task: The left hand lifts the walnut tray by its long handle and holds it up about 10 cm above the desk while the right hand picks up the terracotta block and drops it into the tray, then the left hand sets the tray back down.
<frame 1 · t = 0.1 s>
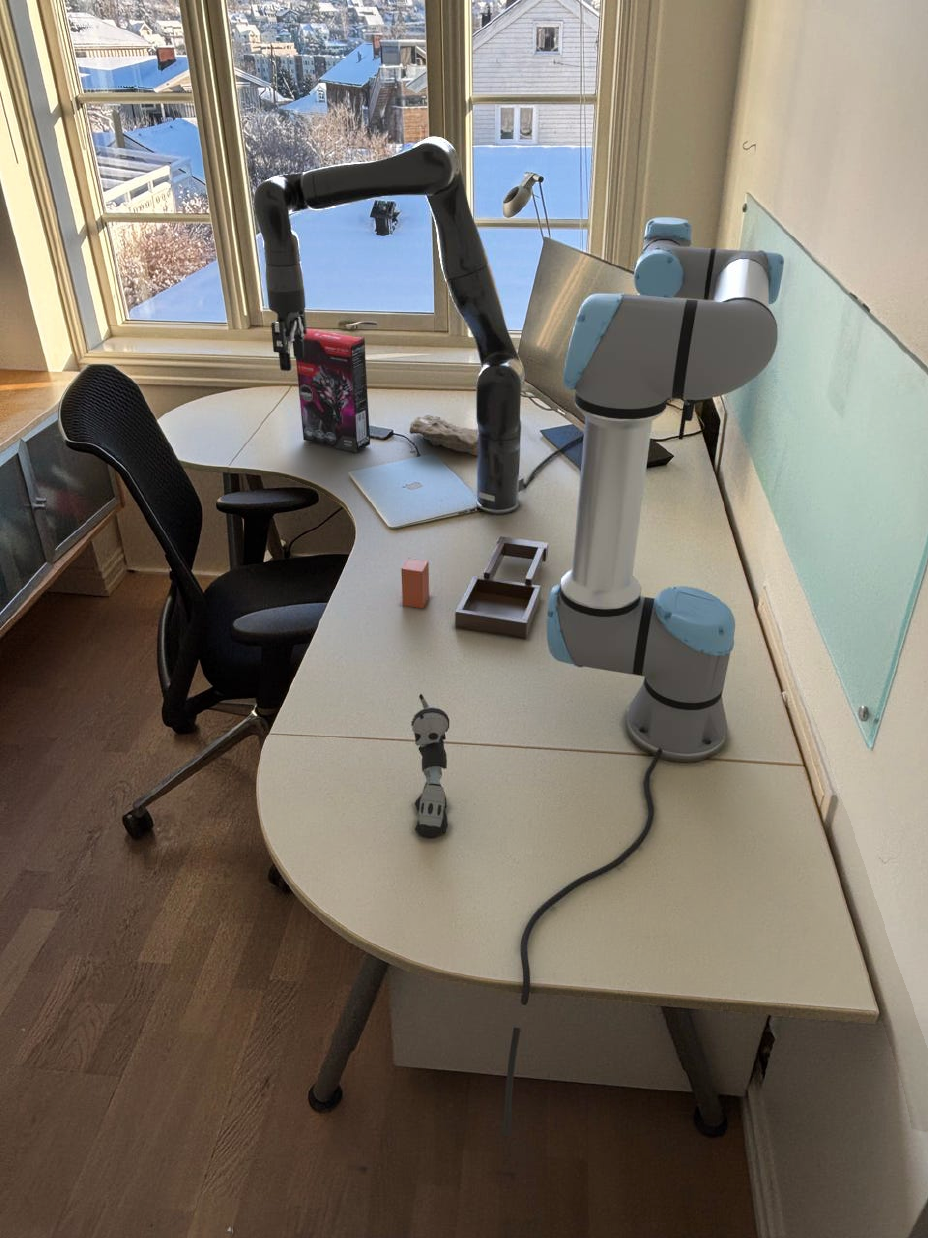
left hand: (292, 363, 197), 29 cm above the table, fingers open, 8 cm apart
right hand: (643, 432, 170), 28 cm above the table, fingers open, 13 cm apart
terracotta block: (415, 601, 173), on the table
stone: (446, 445, 234), on the table
walnut tray: (498, 614, 170), on the table
robot: (431, 817, 128), on the table
graphics card box: (336, 443, 234), on the table
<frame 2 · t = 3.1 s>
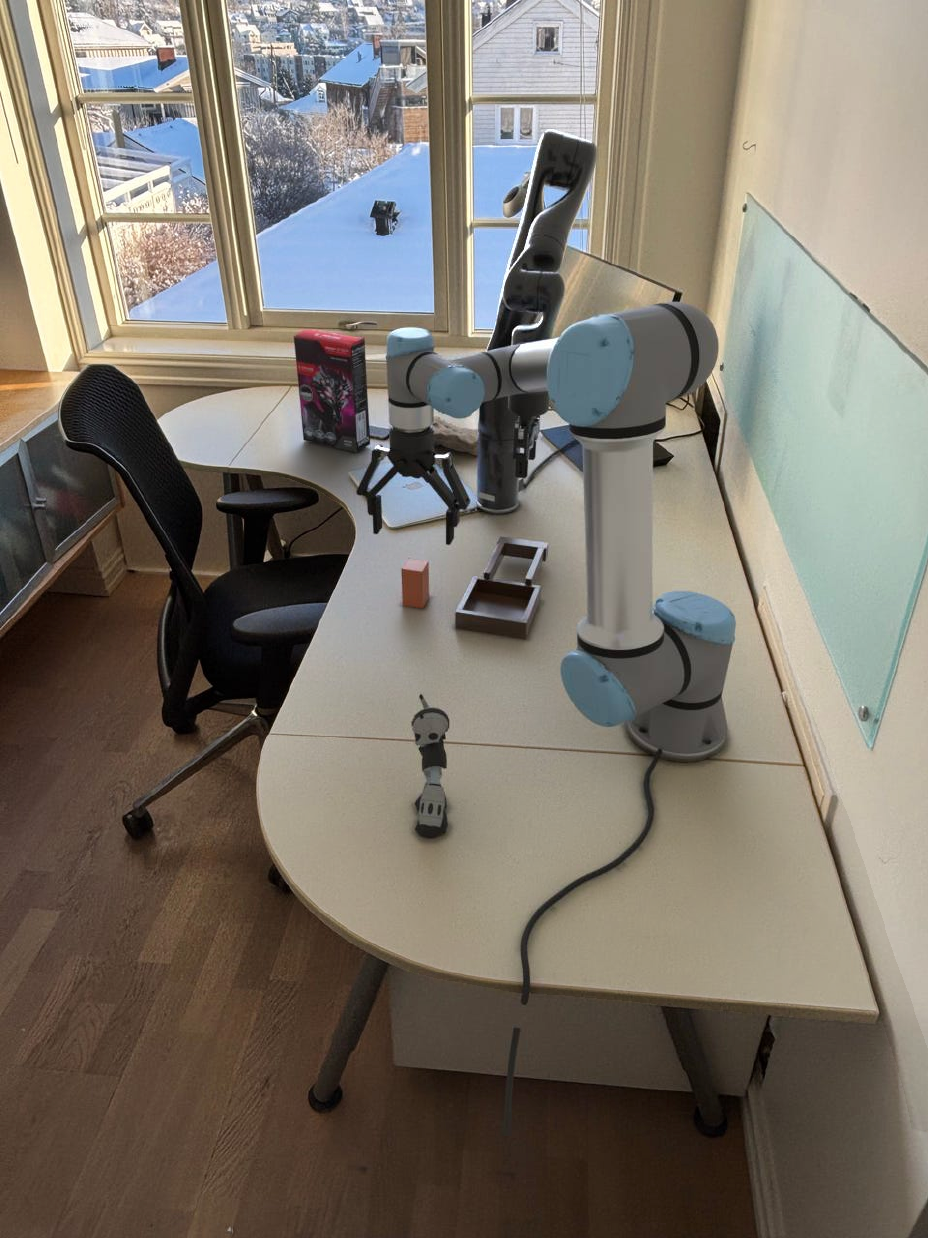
left hand: (525, 467, 175), 20 cm above the table, fingers open, 8 cm apart
right hand: (413, 536, 166), 14 cm above the table, fingers open, 13 cm apart
nothing on the table moved.
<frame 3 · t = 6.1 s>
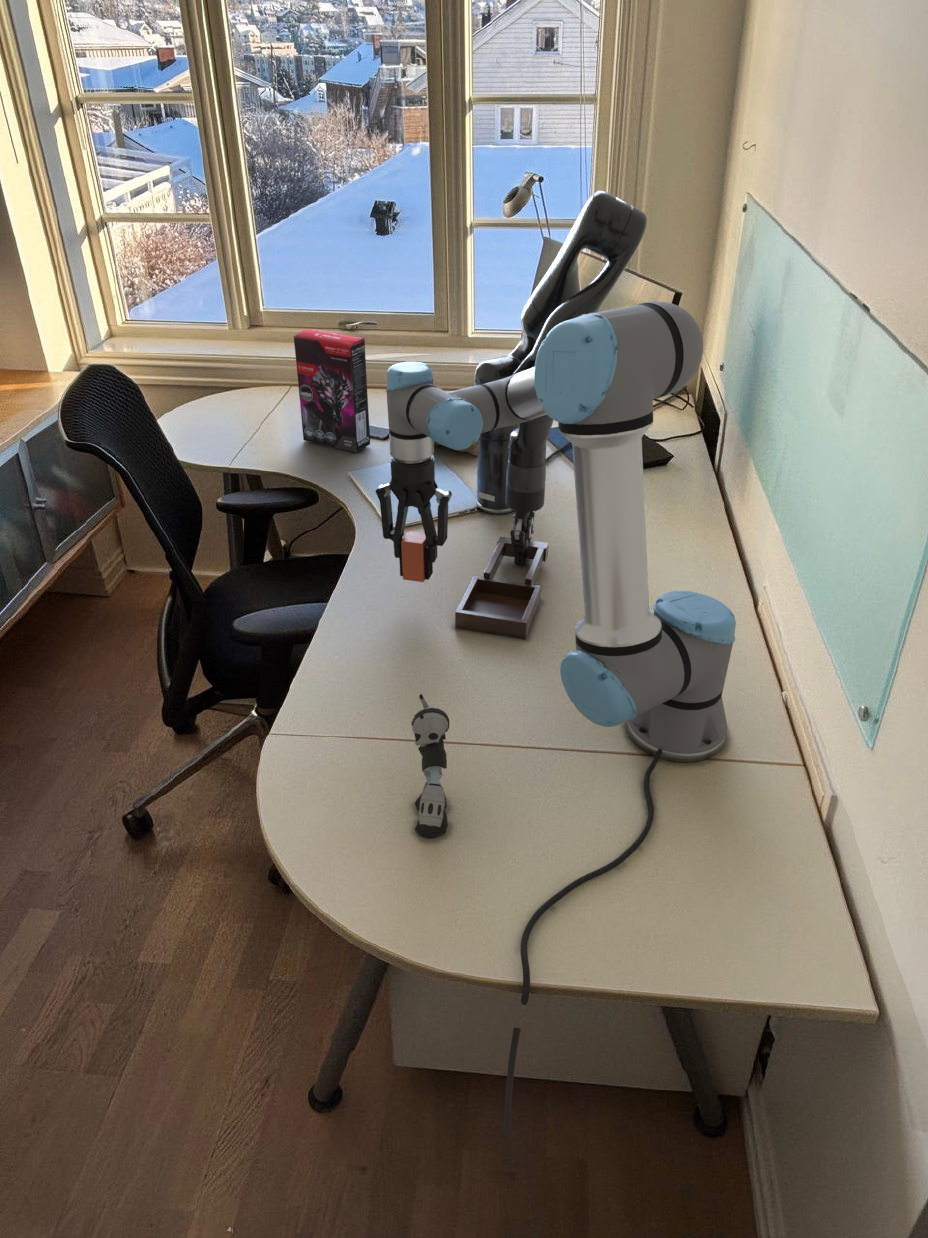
left hand: (521, 560, 186), 0 cm above the table, fingers closed on walnut tray, 2 cm apart
right hand: (416, 574, 170), 6 cm above the table, fingers closed on terracotta block, 4 cm apart
terracotta block: (416, 575, 170), point 6 cm above the table, touching right hand
walnut tray: (498, 614, 170), on the table, touching left hand
everything else where it was.
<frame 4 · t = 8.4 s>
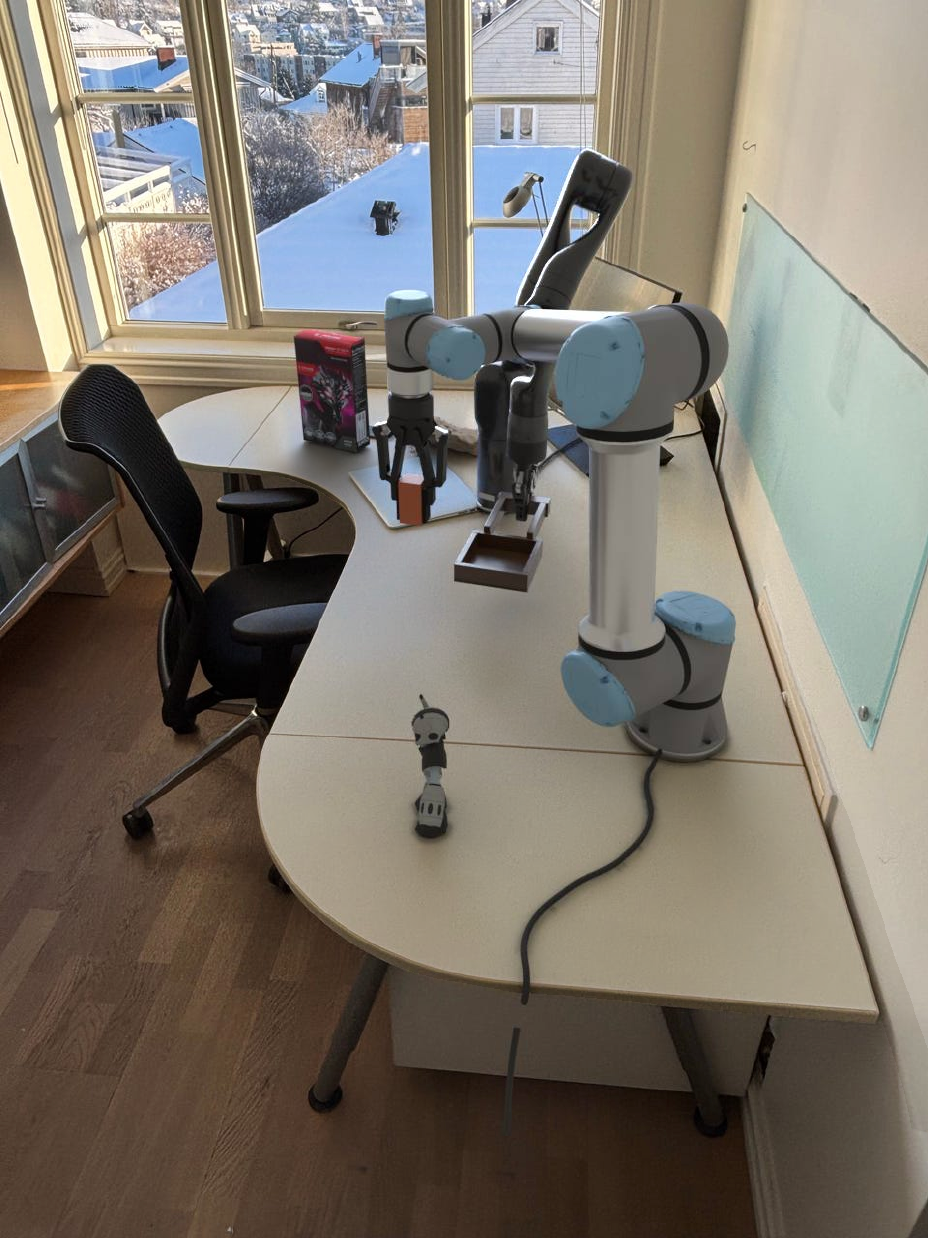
left hand: (523, 516, 180), 10 cm above the table, fingers closed on walnut tray, 2 cm apart
right hand: (413, 518, 163), 18 cm above the table, fingers closed on terracotta block, 4 cm apart
terracotta block: (413, 519, 164), point 17 cm above the table, touching right hand
walnut tray: (499, 568, 164), point 10 cm above the table, touching left hand
everything else where it was.
when the right hand's fingers open (15 cm above the table, at t = 11.2 s): terracotta block drops 4 cm, resting on walnut tray.
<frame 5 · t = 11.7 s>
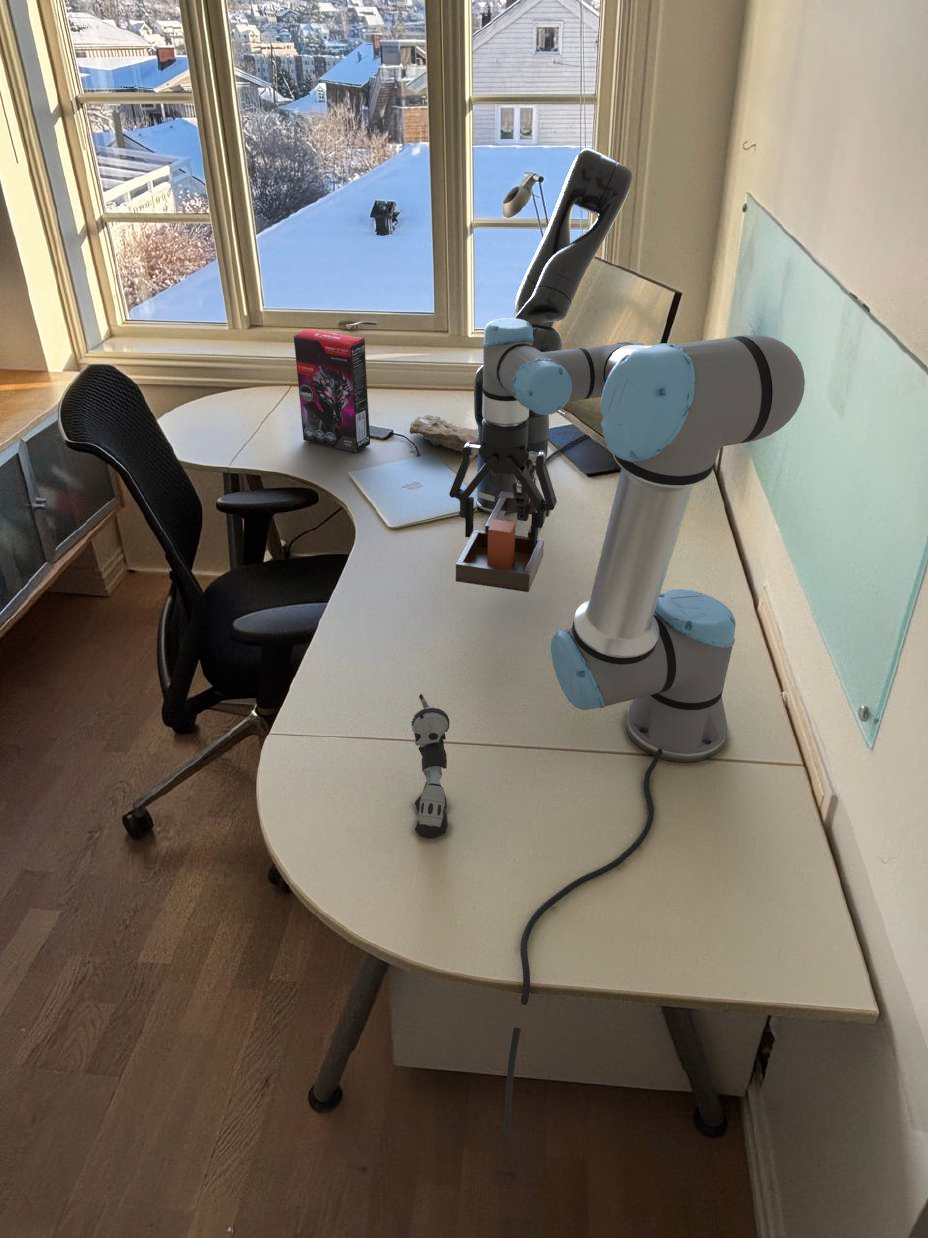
left hand: (524, 516, 180), 10 cm above the table, fingers closed on walnut tray, 2 cm apart
right hand: (501, 538, 161), 16 cm above the table, fingers open, 11 cm apart
terracotta block: (500, 565, 164), point 10 cm above the table, touching walnut tray
walnut tray: (500, 568, 164), point 10 cm above the table, touching left hand, terracotta block
everything else where it was.
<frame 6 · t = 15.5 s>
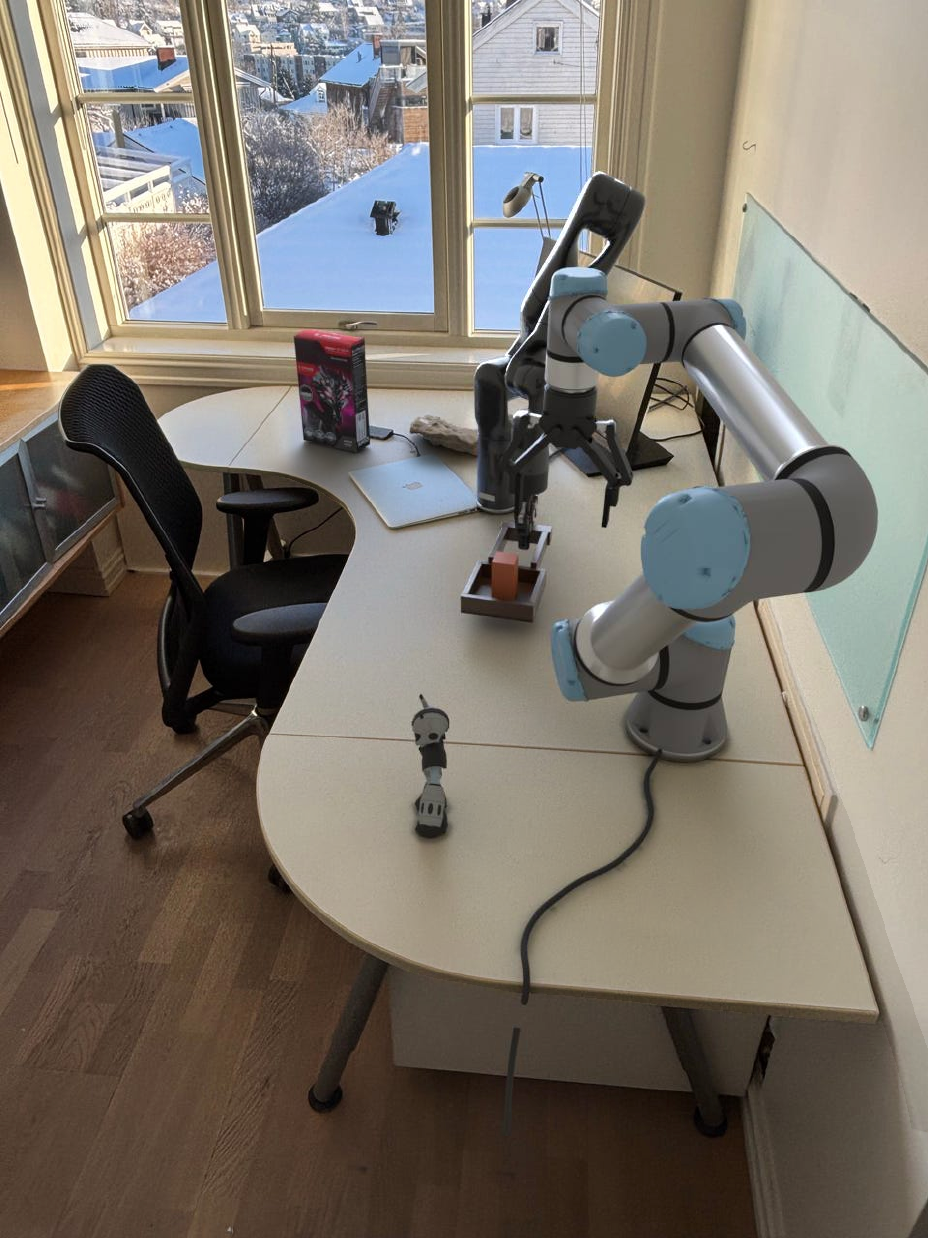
left hand: (525, 544, 184), 4 cm above the table, fingers closed on walnut tray, 2 cm apart
right hand: (561, 518, 142), 28 cm above the table, fingers open, 13 cm apart
terracotta block: (504, 596, 168), point 4 cm above the table, touching walnut tray
walnut tray: (504, 598, 168), point 3 cm above the table, touching left hand, terracotta block
everything else where it was.
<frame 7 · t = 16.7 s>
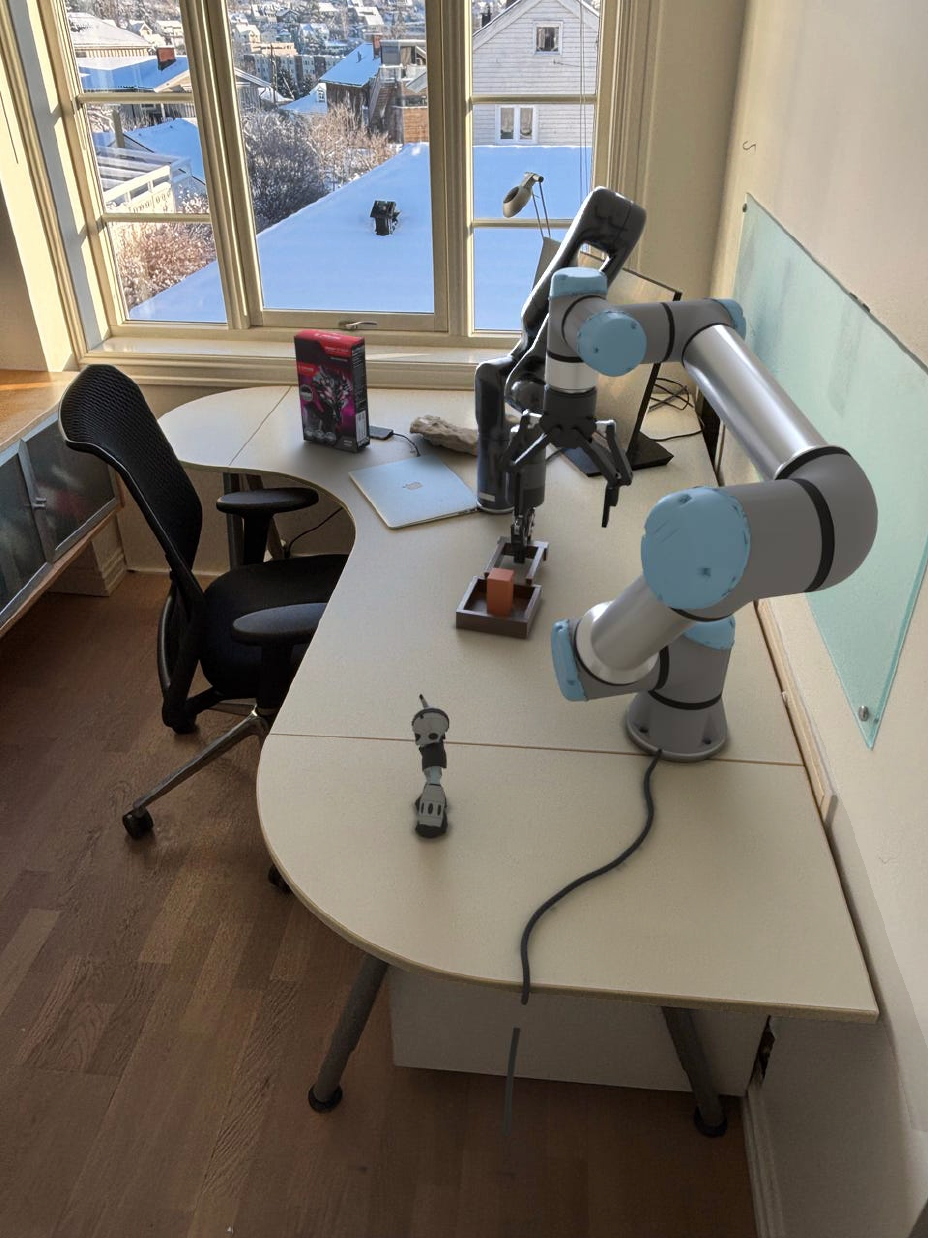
left hand: (522, 555, 185), 1 cm above the table, fingers open, 4 cm apart
right hand: (561, 518, 142), 28 cm above the table, fingers open, 13 cm apart
terracotta block: (499, 611, 170), point 1 cm above the table, touching walnut tray
walnut tray: (499, 614, 170), on the table, touching terracotta block
everything else where it was.
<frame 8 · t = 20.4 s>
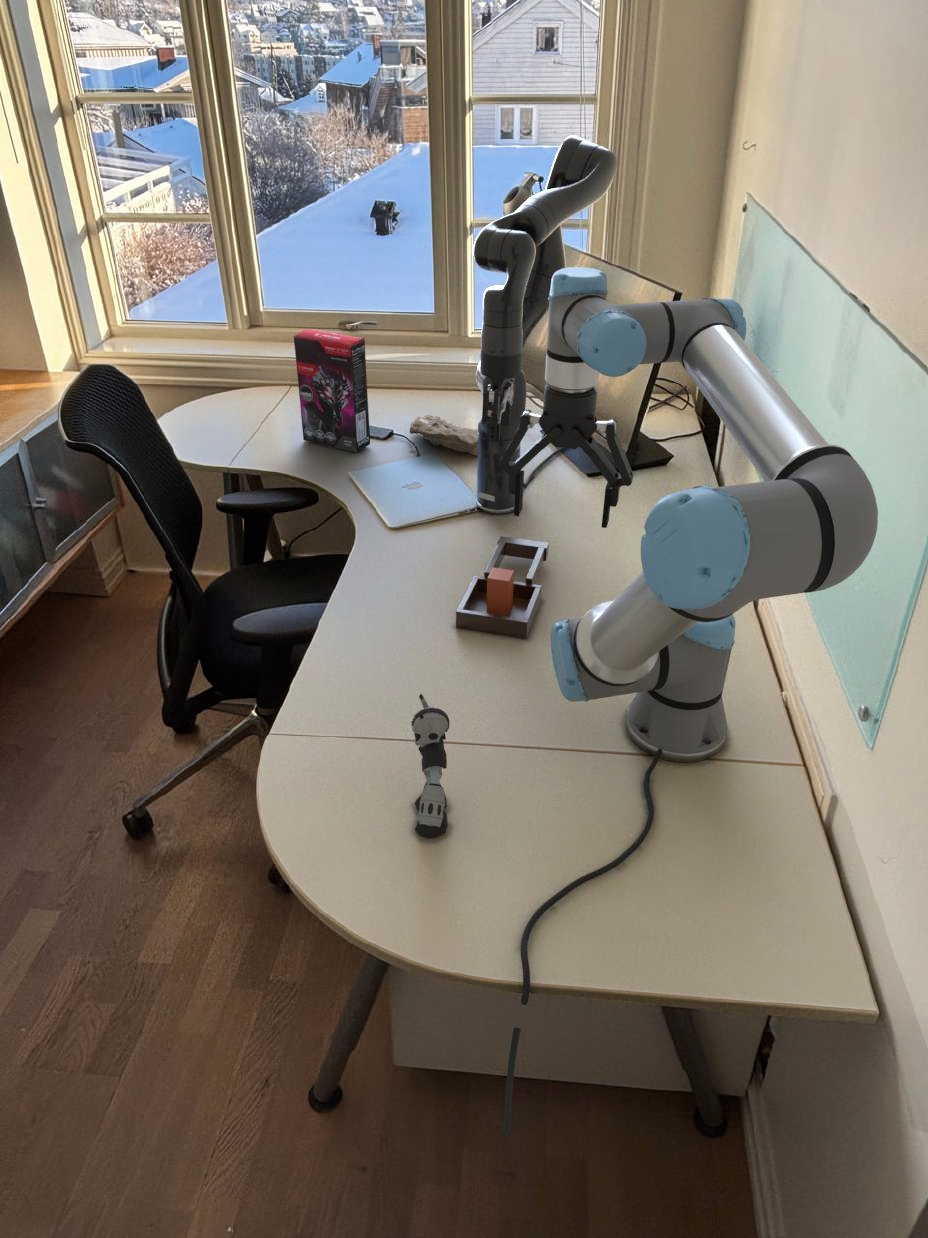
left hand: (498, 432, 174), 26 cm above the table, fingers open, 8 cm apart
right hand: (561, 518, 142), 28 cm above the table, fingers open, 13 cm apart
nothing on the table moved.
at the end: terracotta block inside the target area on the walnut tray (0.0 cm from its centre), point 0.6 cm above the walnut tray's base; walnut tray on the table; the left hand is holding nothing; the right hand is holding nothing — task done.
